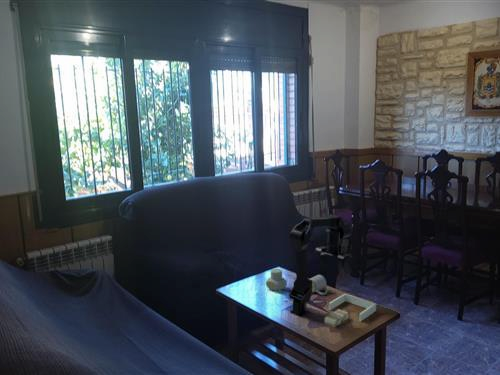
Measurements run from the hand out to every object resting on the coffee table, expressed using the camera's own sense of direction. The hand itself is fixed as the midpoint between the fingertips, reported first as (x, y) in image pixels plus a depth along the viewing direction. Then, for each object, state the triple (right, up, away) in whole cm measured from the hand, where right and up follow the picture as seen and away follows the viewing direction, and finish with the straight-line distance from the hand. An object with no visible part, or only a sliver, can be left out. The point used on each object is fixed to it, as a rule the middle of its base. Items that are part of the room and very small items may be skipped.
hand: (332, 270), depth 211 cm
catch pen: (+7, -16, -12) cm, 21 cm away
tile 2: (0, -18, -19) cm, 26 cm away
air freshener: (-27, -12, +13) cm, 32 cm away
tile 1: (-4, -19, -23) cm, 30 cm away
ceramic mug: (-5, -13, +9) cm, 17 cm away
